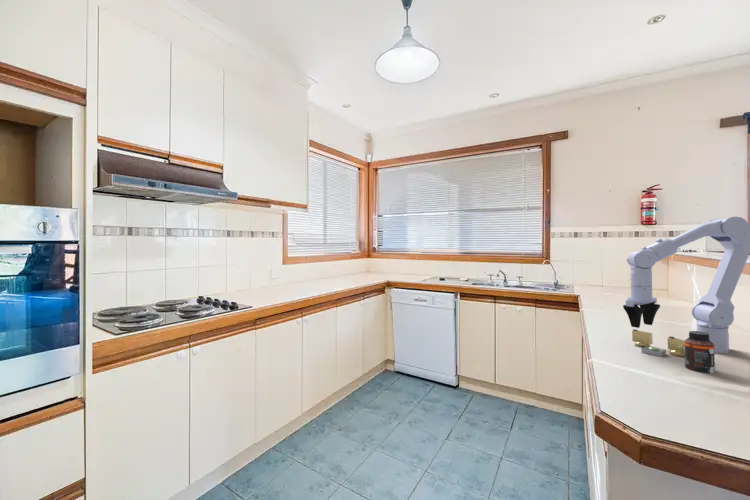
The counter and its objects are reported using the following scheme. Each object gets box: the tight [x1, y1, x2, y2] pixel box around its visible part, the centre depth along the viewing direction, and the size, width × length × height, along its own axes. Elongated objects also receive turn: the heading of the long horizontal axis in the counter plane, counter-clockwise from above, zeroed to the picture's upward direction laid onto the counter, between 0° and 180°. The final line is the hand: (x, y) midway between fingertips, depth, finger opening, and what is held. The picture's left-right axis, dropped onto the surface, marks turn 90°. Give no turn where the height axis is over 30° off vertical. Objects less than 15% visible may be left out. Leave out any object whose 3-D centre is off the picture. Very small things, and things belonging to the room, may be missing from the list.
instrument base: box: [641, 346, 667, 358], centre depth 108 cm, size 12×16×3 cm
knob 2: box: [667, 335, 685, 358], centre depth 104 cm, size 5×4×5 cm
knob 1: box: [631, 329, 654, 348], centre depth 114 cm, size 5×4×5 cm
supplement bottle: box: [684, 330, 716, 374], centre depth 92 cm, size 6×6×11 cm
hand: (641, 325), depth 114 cm, fingers open, 7 cm apart
